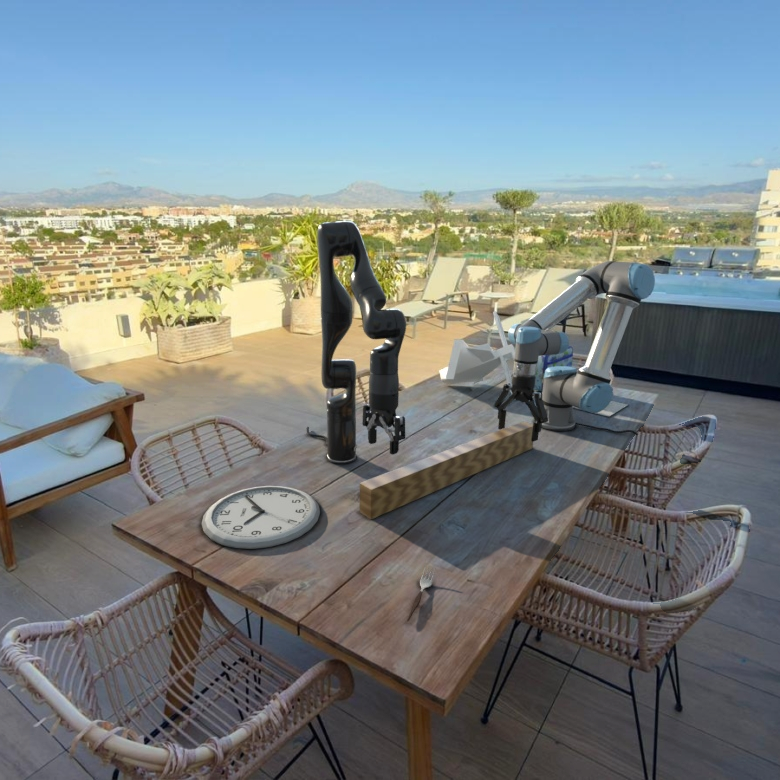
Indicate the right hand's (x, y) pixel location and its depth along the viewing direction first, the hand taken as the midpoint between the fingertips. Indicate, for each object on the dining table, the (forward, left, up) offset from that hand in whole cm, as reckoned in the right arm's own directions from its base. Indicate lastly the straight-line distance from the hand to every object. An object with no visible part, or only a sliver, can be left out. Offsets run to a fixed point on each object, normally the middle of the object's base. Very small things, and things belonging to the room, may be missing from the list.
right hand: (517, 434), depth 178 cm
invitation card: (-42, -53, -6) cm, 68 cm away
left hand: (+40, +45, +12) cm, 62 cm away
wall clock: (+71, +54, -6) cm, 89 cm away
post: (+20, +23, -6) cm, 31 cm away
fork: (+28, +80, -6) cm, 85 cm away
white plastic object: (+10, -65, -6) cm, 66 cm away
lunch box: (-24, -77, -6) cm, 81 cm away
